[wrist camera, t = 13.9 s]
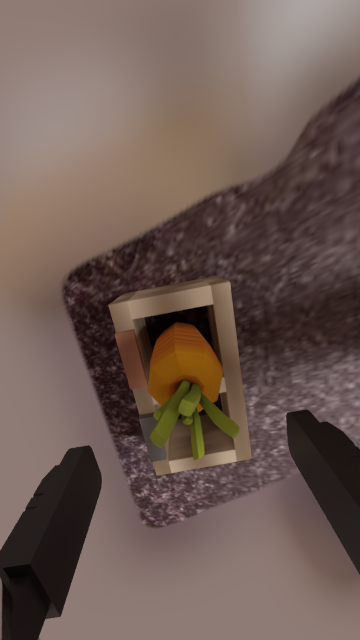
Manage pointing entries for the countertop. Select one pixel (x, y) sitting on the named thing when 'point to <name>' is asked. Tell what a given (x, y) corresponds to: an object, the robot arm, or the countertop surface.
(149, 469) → the countertop surface
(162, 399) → the carrot
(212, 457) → the frame
